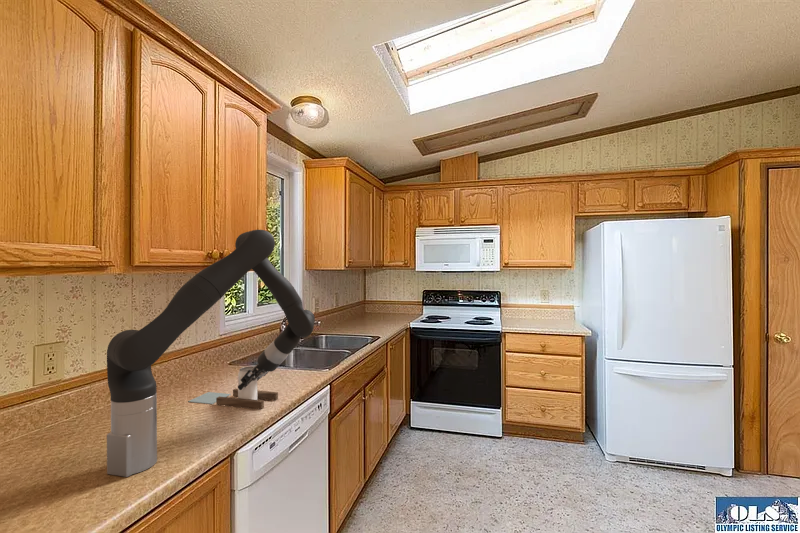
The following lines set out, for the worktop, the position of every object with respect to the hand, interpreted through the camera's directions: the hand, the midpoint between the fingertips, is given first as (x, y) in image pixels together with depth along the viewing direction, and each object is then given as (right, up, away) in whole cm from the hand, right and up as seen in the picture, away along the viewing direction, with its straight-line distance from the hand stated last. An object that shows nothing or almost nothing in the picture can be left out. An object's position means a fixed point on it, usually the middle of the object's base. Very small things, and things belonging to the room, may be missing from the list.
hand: (245, 386), depth 136 cm
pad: (-15, -6, +3) cm, 16 cm away
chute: (+1, -6, -1) cm, 6 cm away
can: (+1, -6, -1) cm, 6 cm away
